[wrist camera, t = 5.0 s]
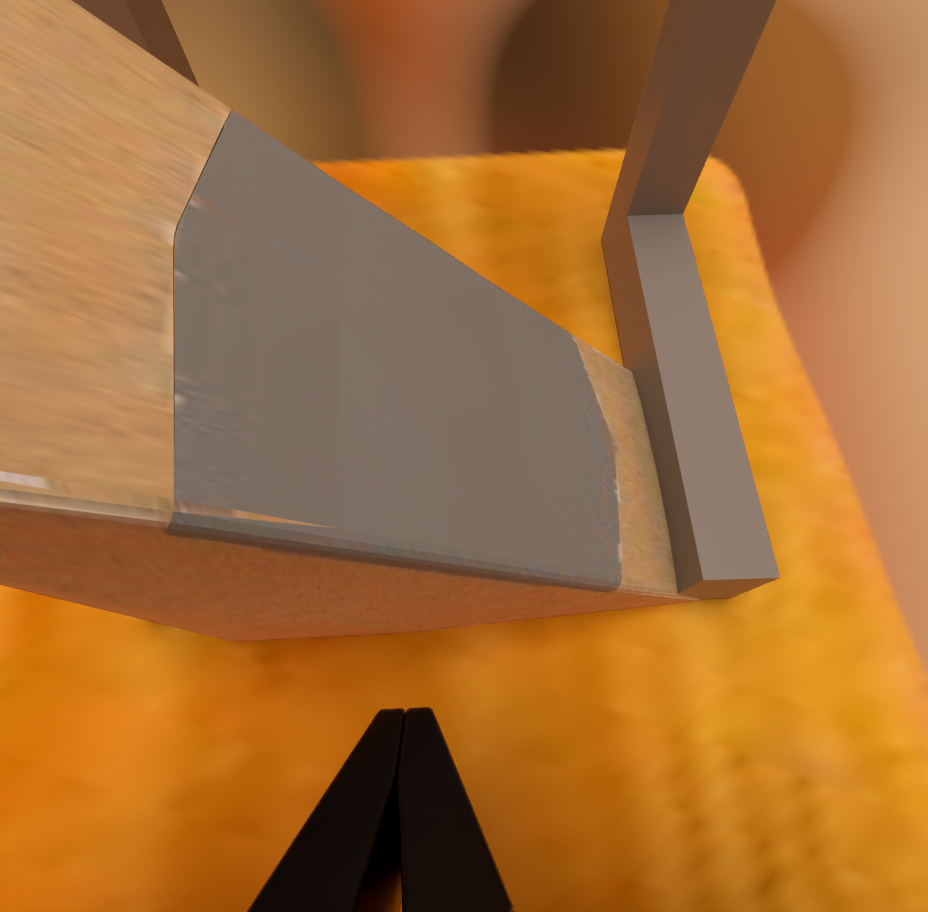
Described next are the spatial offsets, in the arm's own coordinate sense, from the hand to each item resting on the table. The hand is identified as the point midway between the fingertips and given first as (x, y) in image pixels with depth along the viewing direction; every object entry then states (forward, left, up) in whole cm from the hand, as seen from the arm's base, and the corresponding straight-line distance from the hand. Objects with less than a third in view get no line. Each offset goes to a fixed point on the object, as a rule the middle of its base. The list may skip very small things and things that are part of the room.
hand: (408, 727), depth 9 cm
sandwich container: (+7, -1, -8) cm, 11 cm away
